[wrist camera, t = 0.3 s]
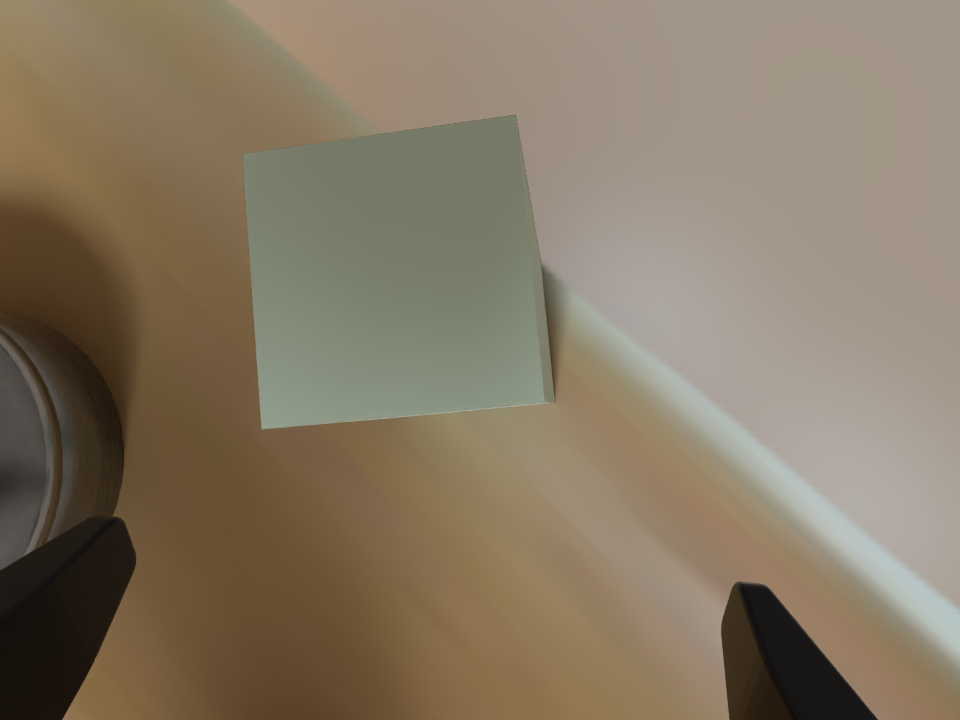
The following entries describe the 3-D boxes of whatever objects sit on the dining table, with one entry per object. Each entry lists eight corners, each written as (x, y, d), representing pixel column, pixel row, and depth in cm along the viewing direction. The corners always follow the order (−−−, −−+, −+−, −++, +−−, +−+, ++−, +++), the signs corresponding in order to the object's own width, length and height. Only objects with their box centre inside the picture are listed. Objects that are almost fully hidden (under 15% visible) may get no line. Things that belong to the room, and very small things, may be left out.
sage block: (555, 402, 24) (544, 402, 12) (411, 416, 24) (261, 429, 12) (540, 258, 24) (515, 114, 12) (399, 274, 24) (242, 153, 13)
